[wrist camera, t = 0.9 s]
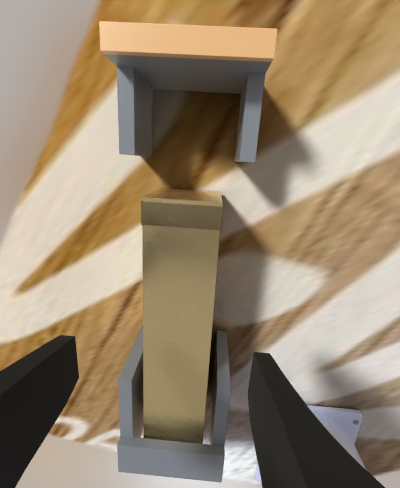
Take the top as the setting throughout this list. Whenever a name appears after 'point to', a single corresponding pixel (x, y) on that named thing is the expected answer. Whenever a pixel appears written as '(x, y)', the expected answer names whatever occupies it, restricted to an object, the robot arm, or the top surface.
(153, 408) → the tan rectangular post
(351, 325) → the top surface
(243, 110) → the socket
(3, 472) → the robot arm
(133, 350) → the sleeve
